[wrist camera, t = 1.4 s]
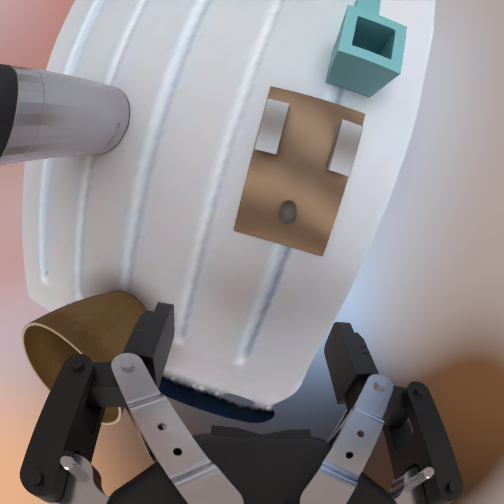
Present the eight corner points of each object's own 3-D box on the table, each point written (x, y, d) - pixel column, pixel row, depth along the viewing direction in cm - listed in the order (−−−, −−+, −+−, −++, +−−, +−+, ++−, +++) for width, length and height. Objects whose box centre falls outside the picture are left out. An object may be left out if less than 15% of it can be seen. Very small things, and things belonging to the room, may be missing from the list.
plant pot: (131, 361, 41) (83, 427, 26) (77, 291, 38) (11, 341, 23) (193, 336, 37) (146, 423, 22) (130, 248, 34) (45, 303, 19)
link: (325, 82, 24) (338, 50, 15) (345, -3, 20) (358, -47, 11) (369, 97, 24) (400, 73, 15) (385, 11, 20) (410, -28, 11)
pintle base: (321, 253, 30) (326, 270, 26) (235, 228, 31) (224, 241, 26) (362, 115, 25) (375, 107, 20) (271, 88, 25) (266, 75, 21)
